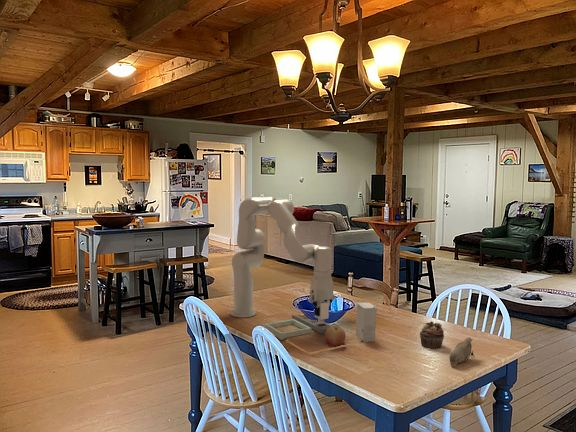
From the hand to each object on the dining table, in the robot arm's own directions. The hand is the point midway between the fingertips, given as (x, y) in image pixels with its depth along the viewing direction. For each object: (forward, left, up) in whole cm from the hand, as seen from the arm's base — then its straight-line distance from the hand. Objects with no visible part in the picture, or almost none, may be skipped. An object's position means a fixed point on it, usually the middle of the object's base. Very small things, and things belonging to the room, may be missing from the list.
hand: (321, 314), depth 211 cm
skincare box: (+17, +11, -8) cm, 22 cm away
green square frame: (-6, -14, -8) cm, 17 cm away
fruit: (+17, -5, -8) cm, 20 cm away
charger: (0, 0, -3) cm, 3 cm away
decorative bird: (+54, +26, -8) cm, 61 cm away
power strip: (-9, 0, -8) cm, 12 cm away
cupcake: (+37, +29, -8) cm, 48 cm away
